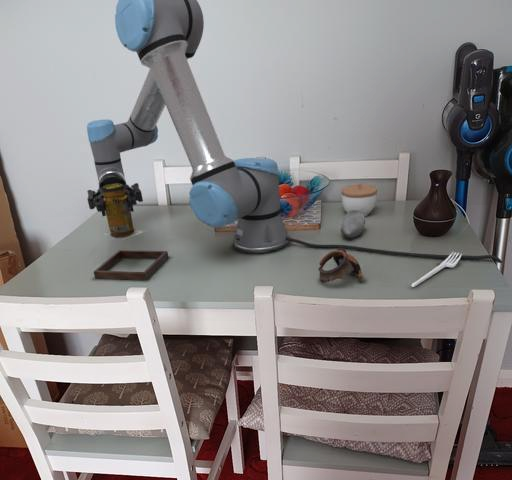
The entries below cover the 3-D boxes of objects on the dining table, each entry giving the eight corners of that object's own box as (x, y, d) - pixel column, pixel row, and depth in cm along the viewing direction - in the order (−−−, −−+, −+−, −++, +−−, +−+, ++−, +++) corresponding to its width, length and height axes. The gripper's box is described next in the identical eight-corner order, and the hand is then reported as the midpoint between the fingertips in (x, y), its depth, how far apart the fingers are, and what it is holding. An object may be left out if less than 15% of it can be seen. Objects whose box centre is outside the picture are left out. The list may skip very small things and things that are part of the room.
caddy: (168, 257, 144) (167, 251, 143) (146, 280, 132) (145, 273, 131) (120, 256, 147) (119, 250, 146) (95, 278, 135) (93, 271, 134)
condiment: (126, 226, 139) (116, 180, 133) (145, 232, 134) (136, 184, 128) (102, 234, 135) (91, 188, 129) (121, 241, 130) (110, 192, 123)
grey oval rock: (334, 234, 141) (343, 204, 140) (341, 235, 154) (348, 208, 152) (357, 239, 140) (366, 209, 138) (362, 241, 153) (370, 213, 151)
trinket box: (335, 212, 166) (335, 182, 161) (366, 206, 168) (367, 177, 164) (350, 221, 157) (351, 190, 152) (382, 216, 160) (384, 185, 155)
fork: (405, 286, 118) (406, 278, 117) (450, 258, 129) (451, 250, 128) (418, 290, 116) (419, 282, 115) (463, 261, 127) (464, 253, 126)
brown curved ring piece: (367, 289, 119) (352, 264, 114) (330, 304, 123) (313, 281, 118) (363, 256, 127) (348, 232, 122) (328, 272, 131) (312, 249, 126)
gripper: (149, 194, 149) (159, 217, 130) (81, 204, 145) (80, 229, 126) (144, 167, 145) (153, 186, 126) (74, 177, 141) (72, 199, 122)
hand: (117, 208), depth 126 cm, fingers closed on condiment, 6 cm apart
